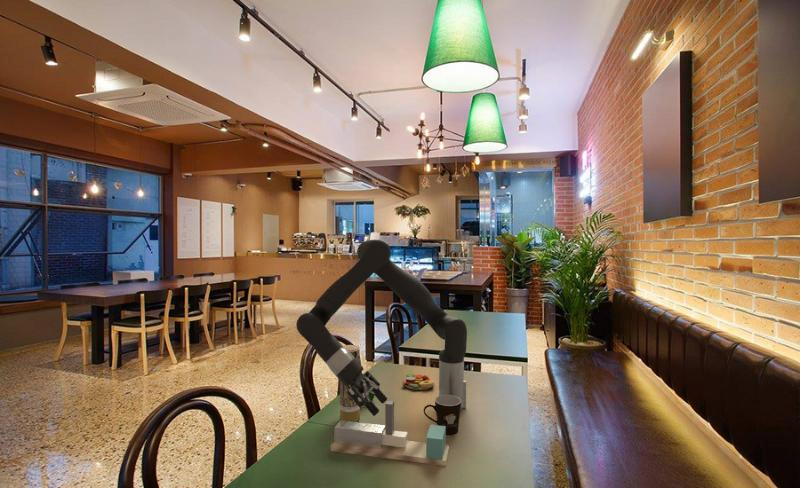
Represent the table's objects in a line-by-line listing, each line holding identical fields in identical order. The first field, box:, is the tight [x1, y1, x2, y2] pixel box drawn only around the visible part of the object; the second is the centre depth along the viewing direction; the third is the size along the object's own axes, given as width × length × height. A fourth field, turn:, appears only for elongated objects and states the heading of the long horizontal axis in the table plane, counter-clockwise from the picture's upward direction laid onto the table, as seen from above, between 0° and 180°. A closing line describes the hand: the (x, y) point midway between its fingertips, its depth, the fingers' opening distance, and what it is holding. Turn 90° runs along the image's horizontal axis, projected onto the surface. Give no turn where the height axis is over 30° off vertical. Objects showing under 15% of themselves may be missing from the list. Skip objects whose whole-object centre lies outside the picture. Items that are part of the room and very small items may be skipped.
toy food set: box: [402, 373, 435, 391], centre depth 167 cm, size 13×13×3 cm
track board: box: [330, 440, 450, 467], centre depth 116 cm, size 34×8×2 cm, turn 77°
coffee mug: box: [423, 395, 462, 437], centre depth 128 cm, size 12×9×10 cm
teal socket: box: [425, 424, 447, 460], centre depth 112 cm, size 4×8×6 cm, turn 166°
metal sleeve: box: [333, 419, 385, 449], centre depth 118 cm, size 14×5×5 cm, turn 77°
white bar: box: [382, 400, 409, 448], centre depth 117 cm, size 19×3×12 cm, turn 77°
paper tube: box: [339, 344, 361, 422], centre depth 135 cm, size 7×7×25 cm
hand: (381, 407), depth 116 cm, fingers open, 8 cm apart
